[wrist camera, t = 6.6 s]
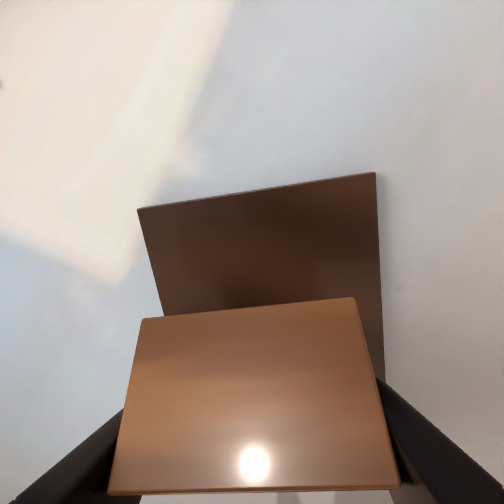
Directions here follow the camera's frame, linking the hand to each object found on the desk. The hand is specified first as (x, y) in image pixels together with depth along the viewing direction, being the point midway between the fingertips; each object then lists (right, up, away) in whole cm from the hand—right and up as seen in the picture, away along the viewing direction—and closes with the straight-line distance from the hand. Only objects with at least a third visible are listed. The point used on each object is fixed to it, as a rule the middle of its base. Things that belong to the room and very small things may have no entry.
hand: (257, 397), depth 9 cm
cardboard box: (+1, 0, +4) cm, 4 cm away
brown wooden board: (+1, 0, +7) cm, 8 cm away
